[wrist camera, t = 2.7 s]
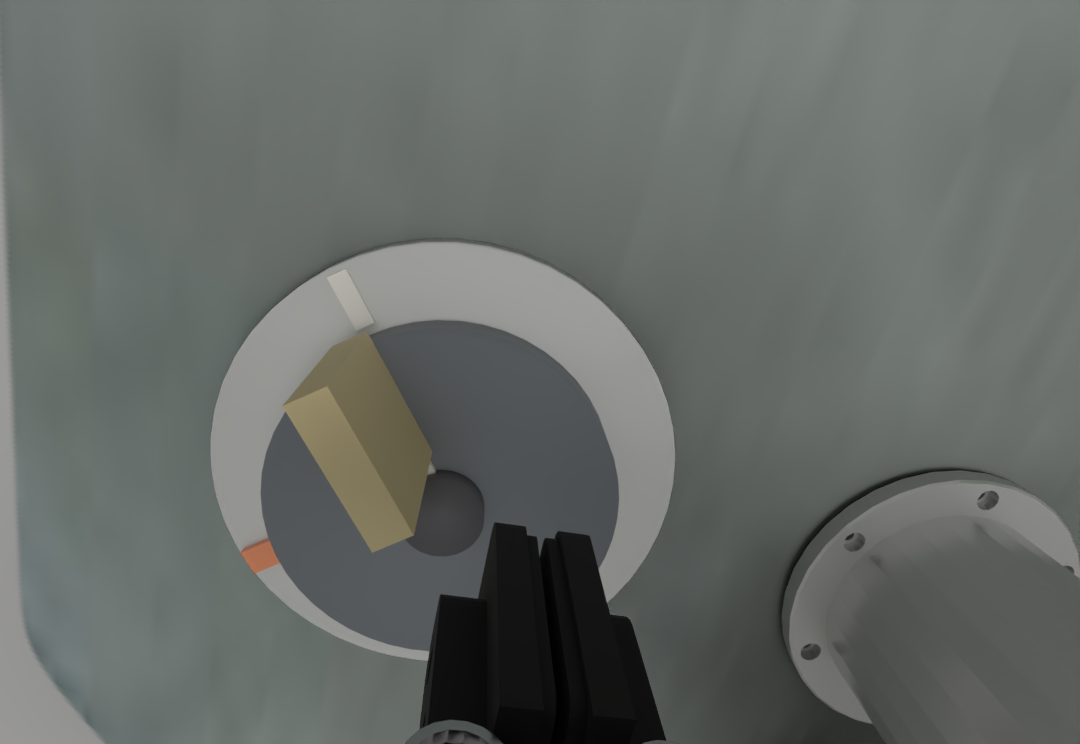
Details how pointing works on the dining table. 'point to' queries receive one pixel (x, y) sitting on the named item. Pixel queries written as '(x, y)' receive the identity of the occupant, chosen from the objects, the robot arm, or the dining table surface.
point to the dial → (428, 470)
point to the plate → (452, 295)
